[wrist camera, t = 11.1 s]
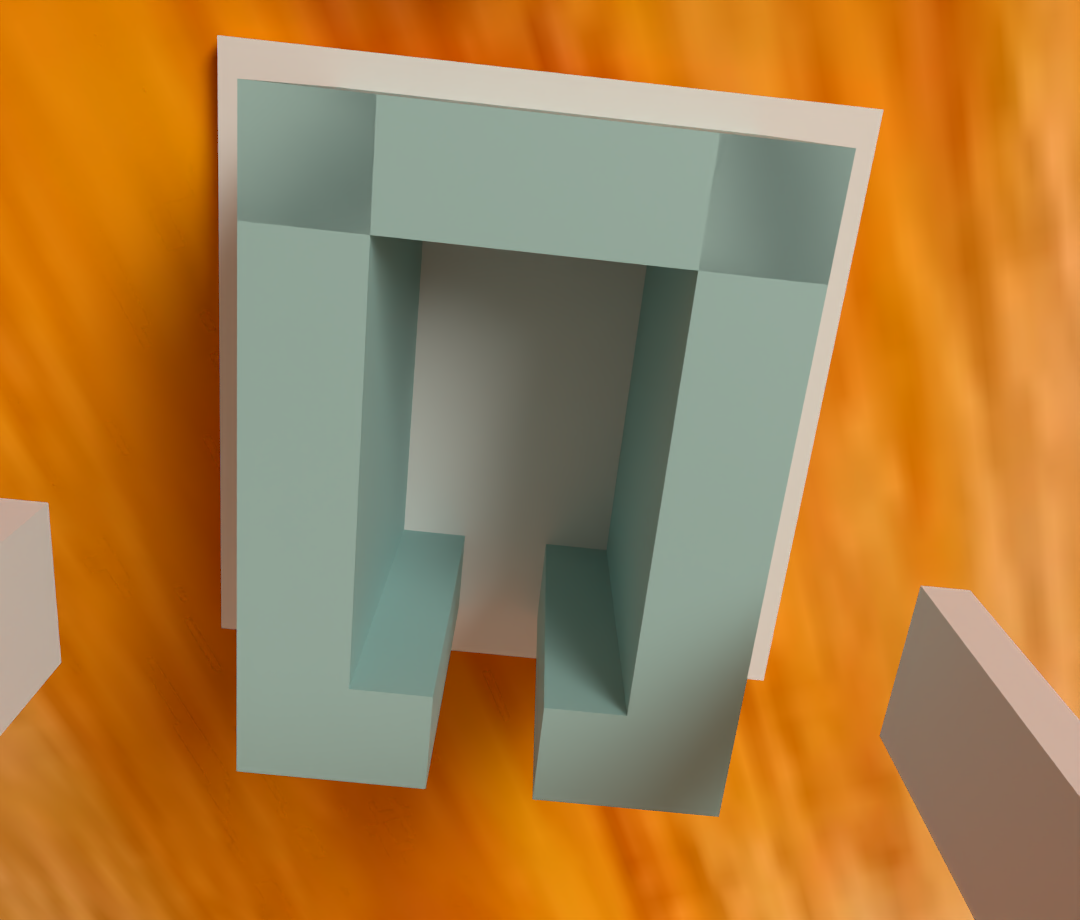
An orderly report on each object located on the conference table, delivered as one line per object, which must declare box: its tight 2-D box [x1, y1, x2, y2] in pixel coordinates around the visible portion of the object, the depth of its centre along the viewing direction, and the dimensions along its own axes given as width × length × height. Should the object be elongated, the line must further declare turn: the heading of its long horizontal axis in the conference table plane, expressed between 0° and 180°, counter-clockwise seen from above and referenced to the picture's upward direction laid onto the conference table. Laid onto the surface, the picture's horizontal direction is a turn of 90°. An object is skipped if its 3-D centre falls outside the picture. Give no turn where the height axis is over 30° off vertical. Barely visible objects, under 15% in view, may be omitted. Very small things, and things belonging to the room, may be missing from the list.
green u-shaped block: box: [237, 79, 856, 817], centre depth 20 cm, size 12×9×7 cm
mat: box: [217, 35, 883, 680], centre depth 23 cm, size 14×14×1 cm
